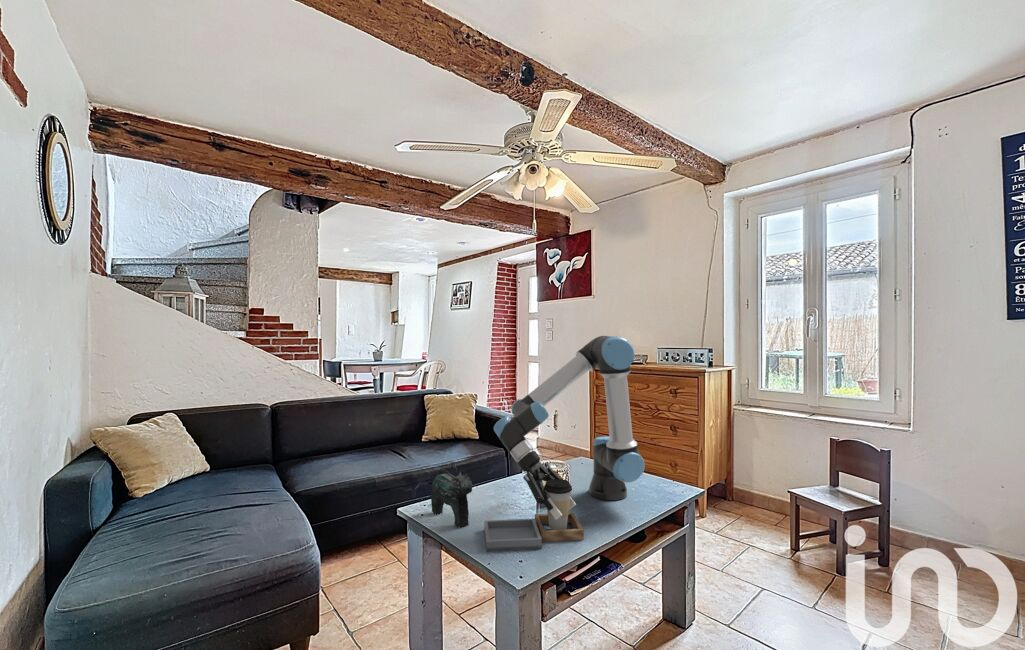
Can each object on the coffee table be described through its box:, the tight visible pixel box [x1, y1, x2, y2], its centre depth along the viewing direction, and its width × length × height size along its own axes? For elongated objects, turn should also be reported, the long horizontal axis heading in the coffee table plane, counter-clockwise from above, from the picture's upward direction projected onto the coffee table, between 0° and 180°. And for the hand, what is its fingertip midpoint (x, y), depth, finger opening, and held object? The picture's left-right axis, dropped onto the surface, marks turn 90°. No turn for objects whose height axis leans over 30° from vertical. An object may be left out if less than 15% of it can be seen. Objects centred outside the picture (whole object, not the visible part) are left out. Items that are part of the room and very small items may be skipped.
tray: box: [483, 518, 543, 552], centre depth 148 cm, size 17×15×3 cm
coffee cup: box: [543, 478, 573, 530], centre depth 153 cm, size 9×9×15 cm
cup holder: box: [534, 512, 585, 543], centre depth 154 cm, size 14×14×3 cm
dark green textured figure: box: [430, 463, 473, 529], centre depth 162 cm, size 20×6×20 cm, turn 43°
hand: (566, 512), depth 152 cm, fingers closed on coffee cup, 9 cm apart
